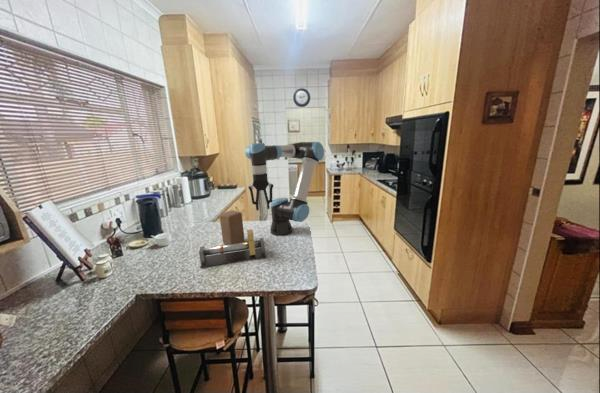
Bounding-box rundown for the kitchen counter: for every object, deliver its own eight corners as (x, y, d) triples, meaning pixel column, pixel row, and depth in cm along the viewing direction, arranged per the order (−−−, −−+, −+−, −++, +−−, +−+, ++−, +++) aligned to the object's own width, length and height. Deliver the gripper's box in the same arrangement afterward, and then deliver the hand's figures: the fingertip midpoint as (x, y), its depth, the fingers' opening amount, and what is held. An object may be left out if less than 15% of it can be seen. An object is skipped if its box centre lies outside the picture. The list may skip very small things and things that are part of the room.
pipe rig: (263, 248, 147) (262, 235, 145) (266, 257, 136) (264, 243, 134) (203, 257, 139) (201, 244, 137) (200, 268, 128) (198, 254, 126)
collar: (254, 248, 144) (252, 228, 141) (255, 254, 136) (253, 233, 133) (248, 249, 143) (246, 229, 140) (249, 255, 135) (247, 234, 132)
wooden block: (232, 248, 150) (228, 216, 144) (222, 244, 155) (218, 213, 150) (245, 241, 157) (242, 212, 152) (235, 238, 163) (231, 209, 158)
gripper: (274, 170, 136) (276, 211, 142) (243, 173, 132) (247, 215, 138) (276, 172, 129) (279, 215, 135) (244, 175, 125) (248, 219, 131)
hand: (263, 215), depth 136 cm, fingers open, 3 cm apart
